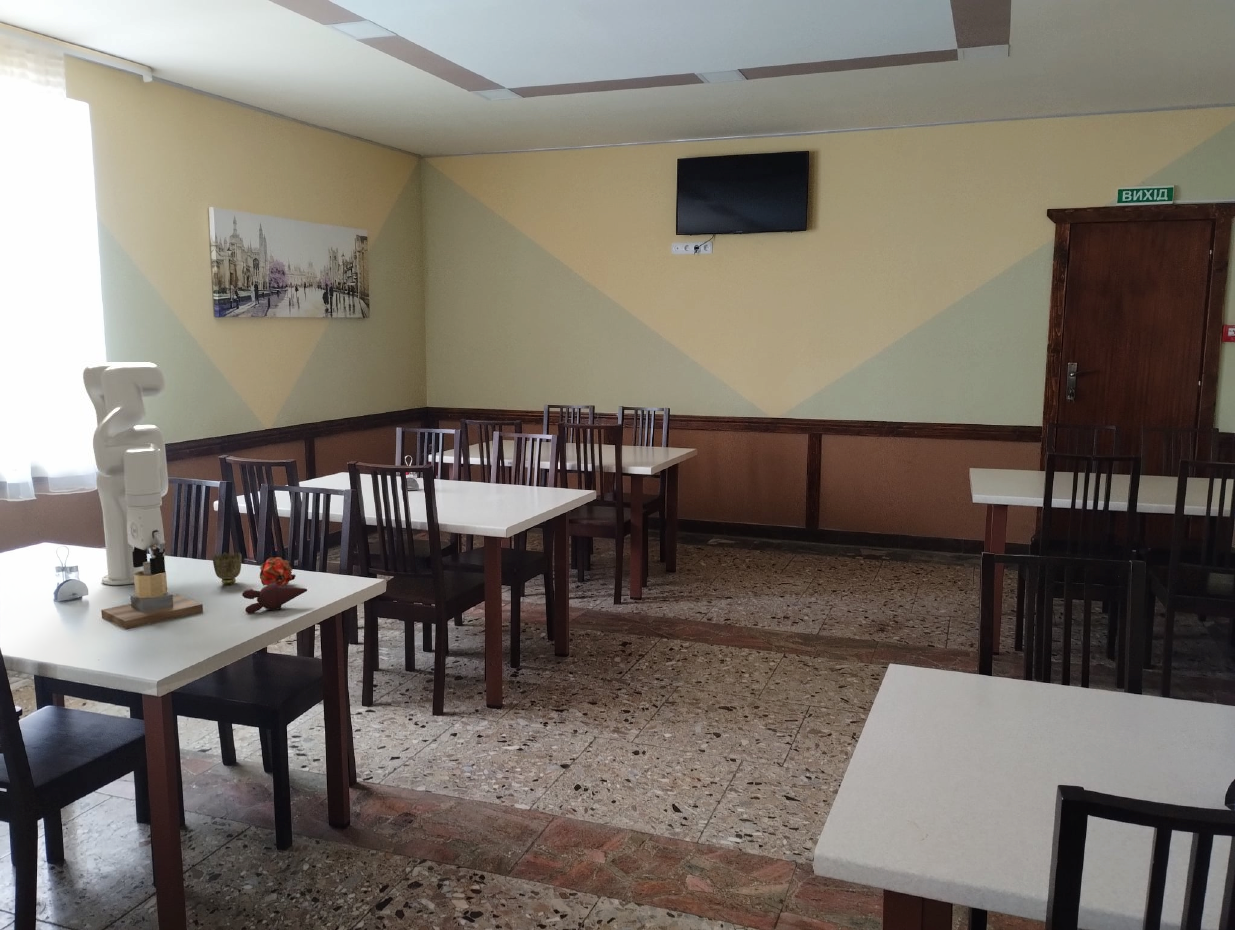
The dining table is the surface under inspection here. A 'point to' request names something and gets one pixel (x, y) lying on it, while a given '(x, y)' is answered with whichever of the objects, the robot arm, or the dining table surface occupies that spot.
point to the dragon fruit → (276, 572)
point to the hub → (150, 585)
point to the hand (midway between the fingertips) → (149, 569)
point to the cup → (227, 567)
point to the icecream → (271, 597)
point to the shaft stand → (151, 608)
